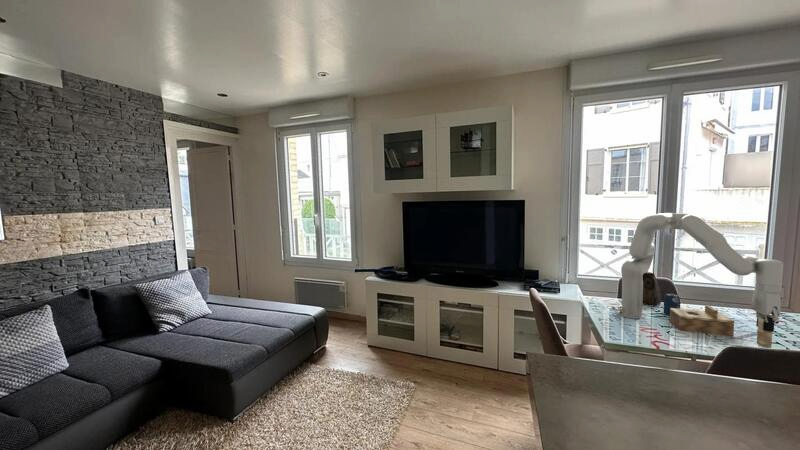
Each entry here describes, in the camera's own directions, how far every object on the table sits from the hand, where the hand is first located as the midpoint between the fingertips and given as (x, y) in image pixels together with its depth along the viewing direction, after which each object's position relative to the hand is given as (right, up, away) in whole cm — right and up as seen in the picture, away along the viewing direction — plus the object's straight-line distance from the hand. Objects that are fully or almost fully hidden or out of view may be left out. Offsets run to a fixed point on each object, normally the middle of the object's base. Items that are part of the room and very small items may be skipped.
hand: (764, 328), depth 139 cm
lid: (-11, 0, +18) cm, 21 cm away
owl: (-3, -4, +60) cm, 60 cm away
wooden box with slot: (-11, -7, +19) cm, 23 cm away
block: (0, -8, +1) cm, 8 cm away
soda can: (-8, -5, +38) cm, 40 cm away
